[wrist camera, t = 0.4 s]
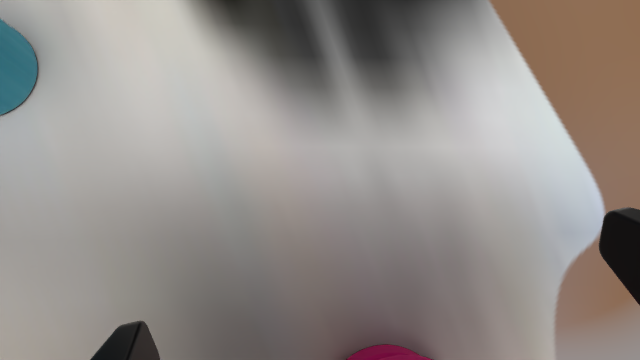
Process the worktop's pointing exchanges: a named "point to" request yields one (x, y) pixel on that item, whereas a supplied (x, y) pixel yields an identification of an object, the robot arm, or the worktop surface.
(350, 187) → the worktop surface
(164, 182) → the worktop surface
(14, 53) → the tube
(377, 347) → the pepper mill
